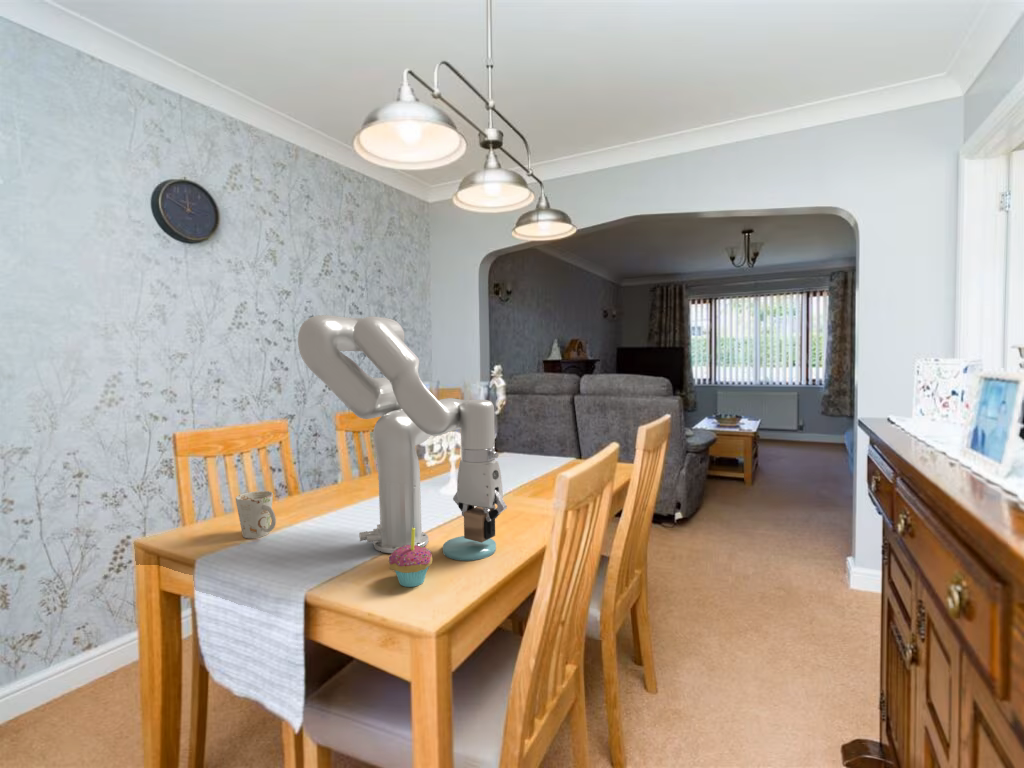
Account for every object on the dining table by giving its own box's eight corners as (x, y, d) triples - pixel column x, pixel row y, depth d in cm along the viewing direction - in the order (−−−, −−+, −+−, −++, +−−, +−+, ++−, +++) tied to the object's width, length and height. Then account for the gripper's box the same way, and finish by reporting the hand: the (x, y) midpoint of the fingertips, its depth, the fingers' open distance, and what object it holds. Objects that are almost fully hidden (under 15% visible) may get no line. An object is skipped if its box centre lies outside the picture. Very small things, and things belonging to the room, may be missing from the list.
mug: (261, 526, 135) (259, 489, 134) (292, 534, 128) (290, 495, 128) (230, 536, 128) (228, 497, 127) (261, 545, 121) (259, 504, 121)
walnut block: (481, 542, 112) (481, 515, 112) (464, 538, 115) (463, 512, 115) (495, 535, 116) (494, 509, 116) (478, 531, 119) (477, 506, 119)
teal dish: (453, 564, 109) (452, 559, 108) (436, 545, 119) (436, 540, 119) (504, 554, 114) (504, 549, 114) (484, 537, 125) (483, 532, 124)
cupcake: (440, 583, 100) (439, 523, 99) (399, 596, 95) (397, 532, 94) (421, 569, 107) (419, 512, 106) (382, 580, 102) (380, 520, 101)
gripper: (519, 456, 113) (520, 537, 114) (460, 448, 123) (461, 523, 124) (498, 462, 107) (500, 547, 108) (438, 454, 116) (440, 532, 118)
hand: (479, 533), depth 116 cm, fingers closed on walnut block, 4 cm apart
